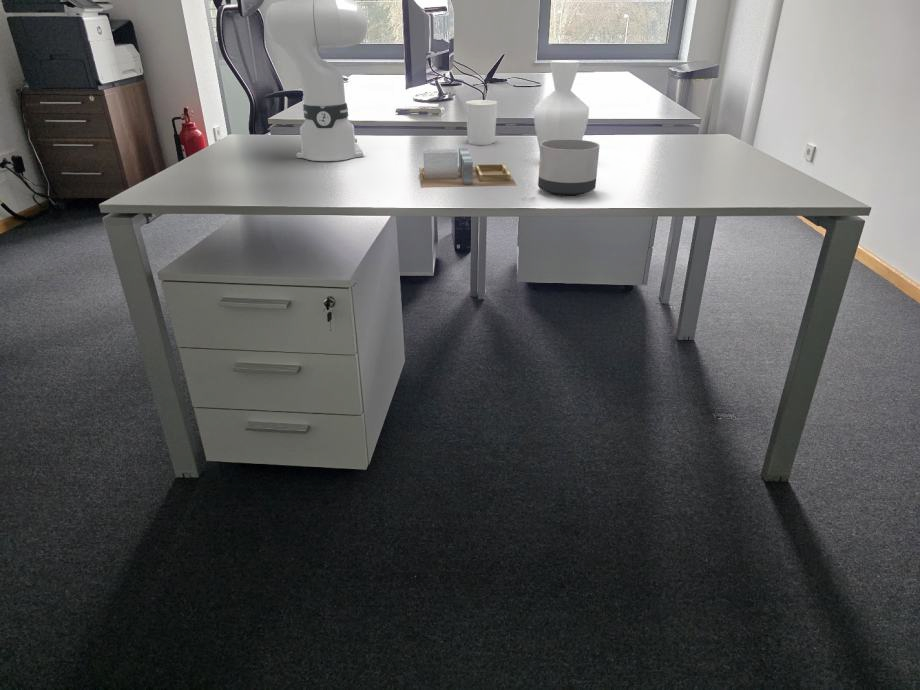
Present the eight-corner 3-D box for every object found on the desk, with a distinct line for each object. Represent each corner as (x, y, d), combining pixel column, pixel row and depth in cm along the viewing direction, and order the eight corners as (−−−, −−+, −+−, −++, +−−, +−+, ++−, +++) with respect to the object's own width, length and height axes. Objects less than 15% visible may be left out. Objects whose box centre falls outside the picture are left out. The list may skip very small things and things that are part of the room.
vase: (534, 155, 175) (539, 59, 163) (584, 157, 173) (593, 59, 161) (529, 166, 163) (534, 63, 151) (583, 168, 160) (592, 63, 149)
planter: (556, 202, 132) (560, 152, 127) (527, 188, 142) (529, 141, 137) (606, 195, 137) (611, 147, 132) (574, 182, 147) (578, 137, 142)
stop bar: (423, 175, 149) (423, 149, 146) (456, 174, 150) (456, 149, 147) (424, 178, 146) (423, 153, 143) (457, 178, 146) (457, 152, 143)
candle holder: (467, 139, 198) (467, 99, 192) (498, 140, 197) (499, 100, 191) (463, 145, 189) (463, 103, 184) (495, 146, 188) (496, 104, 182)
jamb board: (419, 172, 157) (418, 147, 154) (504, 170, 158) (505, 146, 155) (420, 192, 139) (419, 164, 136) (516, 190, 140) (517, 162, 138)
